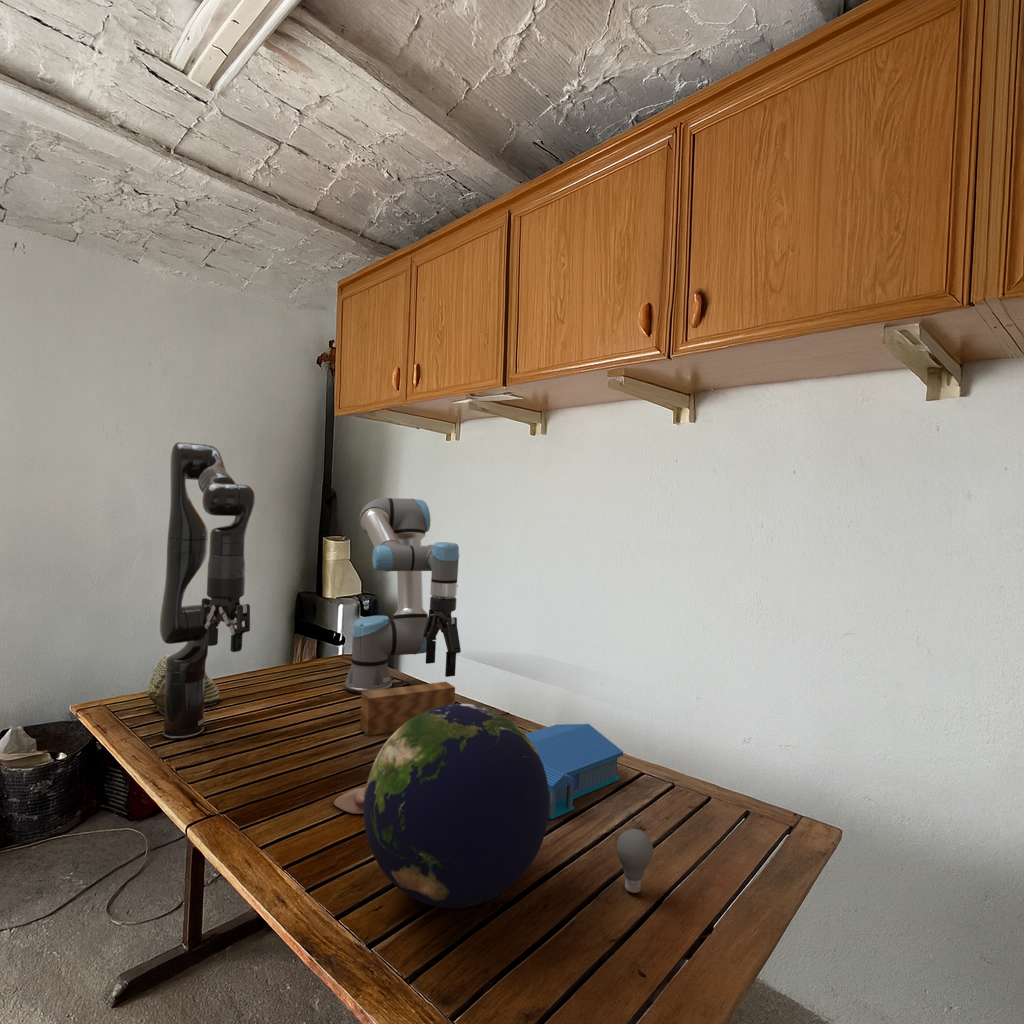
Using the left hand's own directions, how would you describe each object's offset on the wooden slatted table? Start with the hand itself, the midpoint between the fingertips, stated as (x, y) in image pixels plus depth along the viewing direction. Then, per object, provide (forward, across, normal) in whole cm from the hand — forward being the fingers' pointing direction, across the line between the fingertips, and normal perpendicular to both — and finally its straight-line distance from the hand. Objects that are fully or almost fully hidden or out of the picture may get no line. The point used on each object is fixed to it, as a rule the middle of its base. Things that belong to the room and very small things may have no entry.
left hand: (223, 648), depth 139 cm
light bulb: (+29, -90, -15) cm, 96 cm away
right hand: (+14, -14, -60) cm, 63 cm away
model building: (+29, -58, -38) cm, 76 cm away
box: (+29, -10, -51) cm, 60 cm away
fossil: (+29, +50, -22) cm, 62 cm away
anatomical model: (+29, -34, -12) cm, 46 cm away
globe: (+29, -66, +2) cm, 72 cm away
